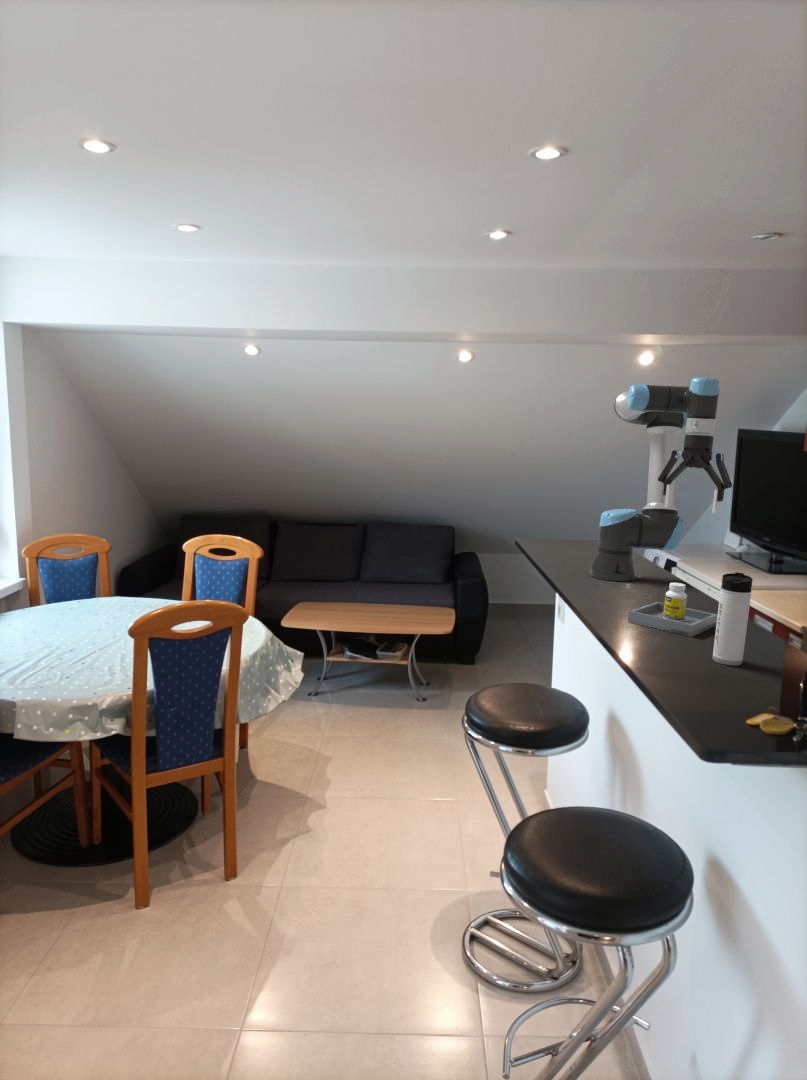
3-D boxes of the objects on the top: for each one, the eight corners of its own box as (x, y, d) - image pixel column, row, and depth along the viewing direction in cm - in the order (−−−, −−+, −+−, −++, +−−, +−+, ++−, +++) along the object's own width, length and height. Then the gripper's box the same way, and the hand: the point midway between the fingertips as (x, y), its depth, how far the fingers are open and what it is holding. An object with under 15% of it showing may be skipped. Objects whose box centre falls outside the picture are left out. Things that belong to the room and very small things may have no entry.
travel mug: (743, 660, 170) (754, 574, 167) (740, 667, 165) (751, 579, 162) (714, 654, 174) (724, 570, 170) (710, 662, 168) (720, 575, 165)
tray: (655, 612, 211) (656, 601, 211) (716, 625, 200) (717, 614, 199) (627, 622, 199) (628, 611, 198) (690, 637, 187) (692, 625, 187)
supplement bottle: (659, 619, 199) (663, 583, 198) (669, 616, 203) (673, 581, 201) (678, 623, 195) (682, 587, 194) (688, 620, 199) (692, 584, 197)
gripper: (650, 431, 214) (643, 505, 218) (740, 436, 198) (731, 516, 201) (662, 432, 220) (654, 504, 223) (750, 437, 203) (740, 514, 207)
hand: (690, 510), depth 212 cm, fingers open, 13 cm apart
